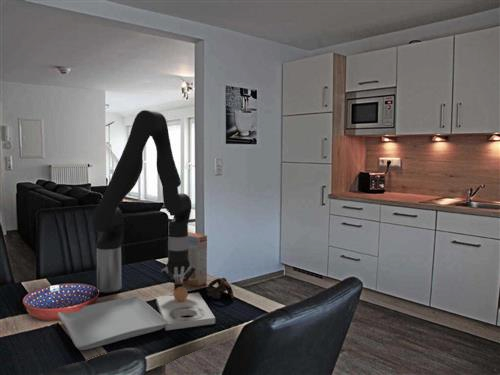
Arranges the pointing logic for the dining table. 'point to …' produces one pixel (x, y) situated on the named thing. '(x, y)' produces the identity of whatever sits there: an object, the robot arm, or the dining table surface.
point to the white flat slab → (184, 311)
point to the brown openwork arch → (220, 287)
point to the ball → (180, 293)
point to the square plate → (111, 322)
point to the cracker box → (197, 259)
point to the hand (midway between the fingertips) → (178, 292)
